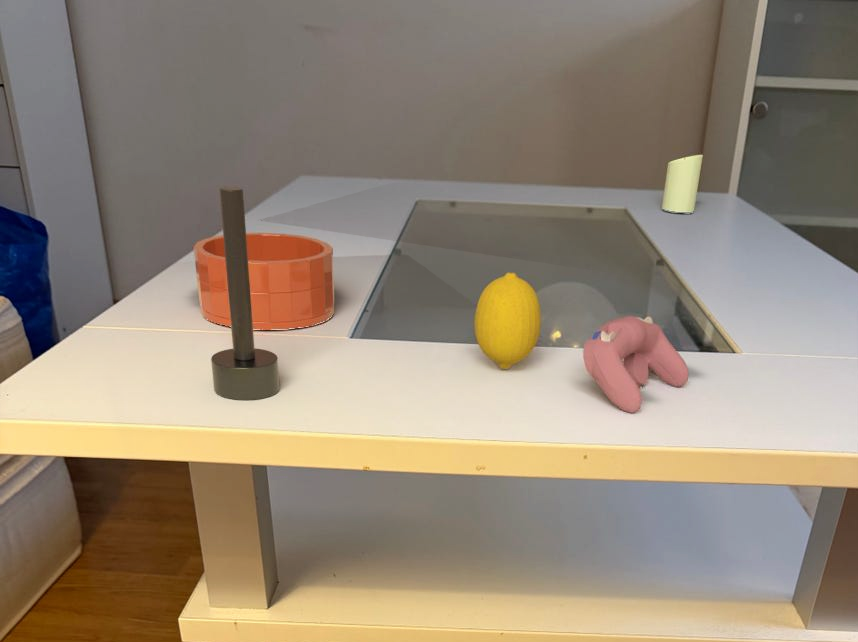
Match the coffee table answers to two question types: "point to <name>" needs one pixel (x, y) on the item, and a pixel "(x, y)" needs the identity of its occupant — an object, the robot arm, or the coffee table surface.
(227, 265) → the ring toss peg
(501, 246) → the coffee table surface
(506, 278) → the lemon
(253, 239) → the bowl
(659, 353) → the video game controller
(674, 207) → the candle
